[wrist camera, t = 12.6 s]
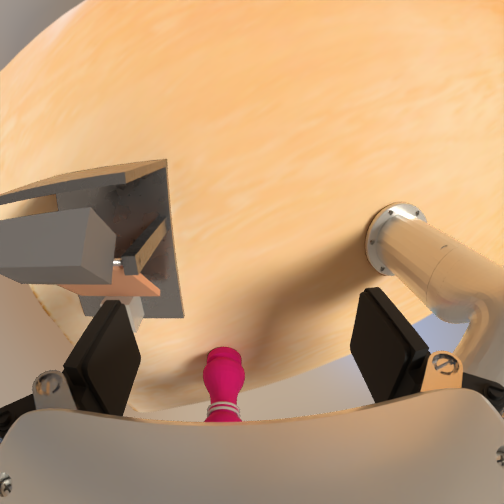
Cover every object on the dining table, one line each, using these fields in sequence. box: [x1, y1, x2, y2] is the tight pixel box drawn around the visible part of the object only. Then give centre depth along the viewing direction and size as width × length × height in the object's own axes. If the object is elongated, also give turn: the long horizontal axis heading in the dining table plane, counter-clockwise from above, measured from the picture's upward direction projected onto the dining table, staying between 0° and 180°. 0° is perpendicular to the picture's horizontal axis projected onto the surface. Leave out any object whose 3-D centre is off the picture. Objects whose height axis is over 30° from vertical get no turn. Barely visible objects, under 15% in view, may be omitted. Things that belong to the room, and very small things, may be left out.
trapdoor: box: [0, 207, 160, 296], centre depth 30 cm, size 14×22×5 cm
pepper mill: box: [203, 347, 245, 422], centre depth 40 cm, size 7×7×20 cm
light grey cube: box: [100, 296, 144, 332], centre depth 41 cm, size 5×5×5 cm
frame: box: [0, 159, 185, 318], centre depth 33 cm, size 19×25×16 cm
